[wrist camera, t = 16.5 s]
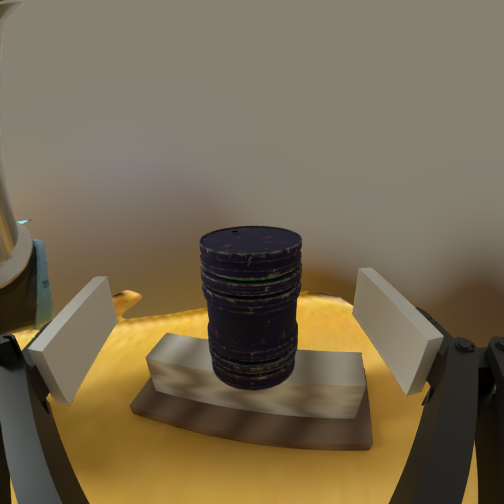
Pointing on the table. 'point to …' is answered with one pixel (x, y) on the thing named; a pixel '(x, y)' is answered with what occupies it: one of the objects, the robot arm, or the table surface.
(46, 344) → the robot arm
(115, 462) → the table surface
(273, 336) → the storage jar
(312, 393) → the ridge stand
